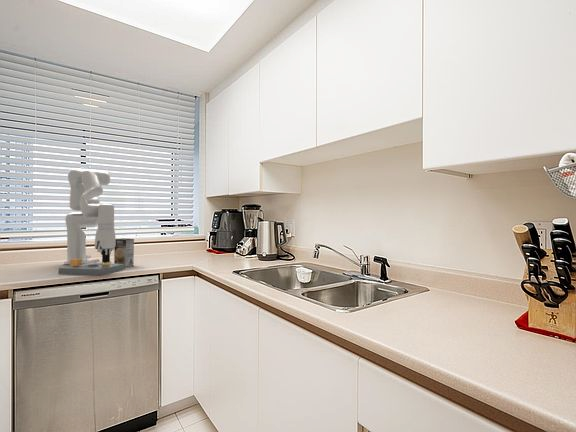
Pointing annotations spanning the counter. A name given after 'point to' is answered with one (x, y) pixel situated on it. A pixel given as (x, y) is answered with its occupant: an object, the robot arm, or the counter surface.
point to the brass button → (105, 263)
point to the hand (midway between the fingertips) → (106, 262)
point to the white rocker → (92, 261)
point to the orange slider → (75, 262)
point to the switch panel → (91, 269)
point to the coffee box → (124, 252)
